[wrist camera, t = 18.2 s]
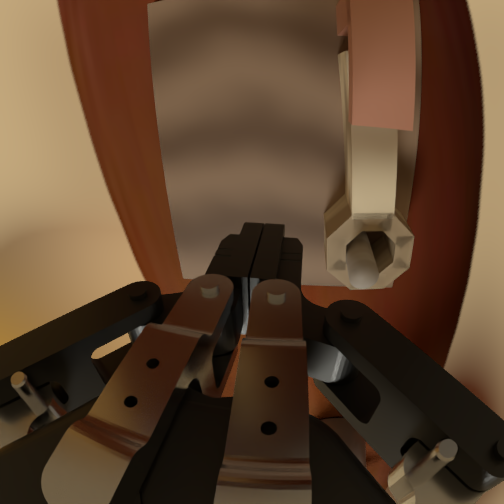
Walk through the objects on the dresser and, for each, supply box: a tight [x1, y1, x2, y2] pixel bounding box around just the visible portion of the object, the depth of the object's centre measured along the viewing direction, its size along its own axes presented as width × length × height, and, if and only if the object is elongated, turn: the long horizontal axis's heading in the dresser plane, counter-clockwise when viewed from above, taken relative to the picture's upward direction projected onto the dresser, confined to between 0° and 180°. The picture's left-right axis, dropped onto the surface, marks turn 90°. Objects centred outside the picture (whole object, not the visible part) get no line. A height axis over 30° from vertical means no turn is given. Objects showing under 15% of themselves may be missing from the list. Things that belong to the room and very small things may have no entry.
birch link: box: [324, 51, 414, 290], centre depth 18 cm, size 15×6×4 cm, turn 7°
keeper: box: [336, 0, 416, 131], centre depth 13 cm, size 7×3×6 cm, turn 3°
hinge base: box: [148, 0, 422, 289], centre depth 18 cm, size 22×18×6 cm
